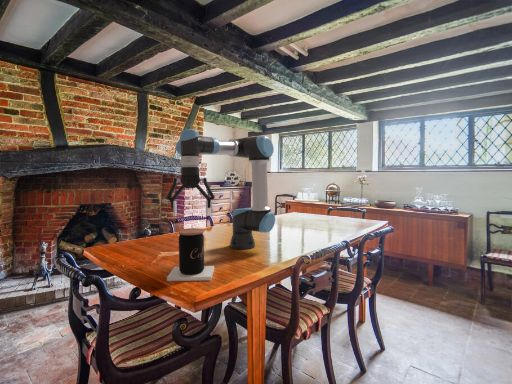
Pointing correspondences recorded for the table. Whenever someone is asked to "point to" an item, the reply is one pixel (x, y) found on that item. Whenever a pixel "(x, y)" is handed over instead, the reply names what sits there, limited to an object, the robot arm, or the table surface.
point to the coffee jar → (191, 251)
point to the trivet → (204, 275)
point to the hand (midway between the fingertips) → (191, 216)
